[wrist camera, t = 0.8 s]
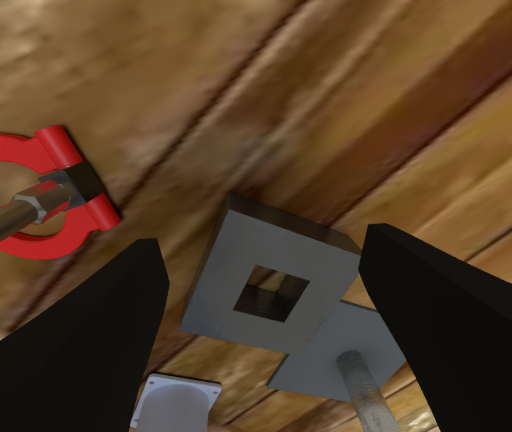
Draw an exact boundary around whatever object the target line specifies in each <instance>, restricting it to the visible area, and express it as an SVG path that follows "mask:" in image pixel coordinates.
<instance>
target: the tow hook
mask: <svg viewBox="0 0 512 432" xmlns="http://www.w3.org/2000/svg"><path fill="white" fill-rule="evenodd" d="M34 134H35V136H36V137H34V138H31V139H28V138H26V137H23V136H19V135H12V134H6V133H0V161H7V162H14V163H17V164H20V165H23V166H26V167H29V168H30V169H32V170H34V171H36V172H37V173H40V174H45V173H48V172H50V171H53V170H56V169H59V170H58V171H56V172H53V173H51V174H48V175H46V176H43V177H40V178H39V181H40V182H41V183H40V184H37V185H35V186H33V187H30V188H28V189H25V190H23V191H21V192H18V193H16V194H15V195H14V196H13V197H12V199H11V201H10V203H8V204H6V205H3V206H1V207H0V250H1V251H3V252H5V253H8V254H12V255H15V256H19V257H22V258H27V259H38V260H45V259H54V258H59V257H62V256H64V255H67V254H70V253H72V252H73V251H74V250H75V249H77V248H78V247H79V246H80V245H82V244H83V243H84V242H85V241H86V240H87V238H88V237H89V235H90V234H91V232H92V231H93V230H96V229H100V230H101V231H105V230H108V229H110V228H112V227H114V226H116V225H117V224H119V223H120V222H121V219H120V218H119V216H118V214H117V213H116V211H115V210H114V208H113V207H112V205H111V203H110V202H109V200H108V199H107V197H106V196H105V194H104V189H103V188H102V186H101V184H100V183H99V181H98V180H97V178H96V176H95V175H94V173H93V172H92V170H91V168H90V167H89V165H88V164H87V162H86V161H83V159H82V158H81V156H80V154H79V153H78V151H77V150H76V148H75V147H74V145H73V143H72V142H71V140H70V139H69V137H68V135H67V134H66V132H65V131H64V129H63V128H62V126H61V125H53V126H49V127H45V128H42V129H40V130H38V131H36V132H35V133H34ZM82 161H83V162H82ZM61 211H66V220H65V224H64V226H63V228H62V230H61V231H60V232H59V233H57V234H55V235H52V236H46V237H35V236H28V235H25V234H22V233H19V232H18V231H20V230H21V229H23V228H25V227H26V226H28V225H30V224H36V225H37V224H42V223H43V222H45V221H46V220H48V219H50V218H51V217H53V216H55V215H56V214H58V213H59V212H61Z"/></svg>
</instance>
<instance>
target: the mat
mask: <svg viewBox="0 0 512 432" xmlns="http://www.w3.org/2000/svg"><path fill="white" fill-rule="evenodd" d="M350 350H356V351H359V352H360V353H361V354H362V356H363V358H364V360H365V362H366V364H367V366H368V368H369V370H370V372H371V374H372V375H373V377H374V379H375V381H376V383H377V385H378V387H379V389H380V388H381V387H382V386H383V385H384V383H385V382H386V381H387V380H388V379H389V378H390V377H391V376H392V375H393V374H394V373H395V372H396V371H397V370H398V369H399V368H400V366H401V365H402V364H403V363H404V362H405V361H406V358H405V357H404V355H403V353H402V351H401V350H400V348H399V346H398V345H397V343H396V341H395V340H394V338H393V336H392V334H391V333H390V331H389V329H388V328H387V326H386V324H385V323H384V321H383V319H382V318H381V316H380V314H379V312H378V311H377V310H374V309H370V308H367V307H364V306H360V305H357V304H353V303H350V302H346V301H343V300H340V301H339V303H338V304H337V306H336V307H335V308H334V310H333V311H332V313H331V314H330V316H329V317H328V318H327V320H326V321H325V323H324V324H323V325H322V327H321V328H320V330H319V331H318V333H317V334H316V335H315V337H314V338H313V340H312V341H311V342H310V344H309V345H308V347H307V348H306V350H305V351H304V352H303V354H302V355H301V356H296V355H291V354H286V356H285V357H284V359H283V360H282V362H281V363H280V365H279V366H278V368H277V369H276V371H275V372H274V374H273V375H272V377H271V378H270V380H269V381H268V383H267V388H271V389H277V390H283V391H289V392H295V393H301V394H306V395H312V396H318V397H324V398H330V399H336V400H342V401H347V402H352V401H351V399H350V396H349V394H348V391H347V389H346V386H345V384H344V382H343V379H342V377H341V374H340V372H339V369H338V367H337V364H336V359H337V357H338V356H339V355H340V354H342V353H344V352H346V351H350Z"/></svg>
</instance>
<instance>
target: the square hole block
mask: <svg viewBox="0 0 512 432" xmlns="http://www.w3.org/2000/svg"><path fill="white" fill-rule="evenodd" d="M361 254H362V250H361V249H360V248H359V247H358V246H357V244H356V243H355V242H354V241H353V240H352V239H351V238H350V237H349V236H348V235H345V234H343V233H340V232H337V231H335V230H332V229H329V228H327V227H324V226H321V225H319V224H316V223H313V222H311V221H308V220H305V219H302V218H300V217H297V216H294V215H292V214H289V213H286V212H284V211H281V210H278V209H276V208H273V207H270V206H268V205H265V204H262V203H260V202H257V201H254V200H251V199H249V198H246V197H243V196H241V195H238V194H235V193H233V192H230V191H229V192H228V195H227V197H226V200H225V202H224V205H223V207H222V210H221V212H220V214H219V217H218V219H217V222H216V224H215V227H214V229H213V232H212V234H211V237H210V239H209V241H208V244H207V246H206V249H205V251H204V254H203V256H202V259H201V261H200V264H199V266H198V269H197V271H196V273H195V276H194V278H193V281H192V283H191V286H190V288H189V291H188V293H187V296H186V298H185V302H184V307H183V311H182V316H181V320H180V325H179V329H178V330H179V331H184V332H188V333H193V334H198V335H202V336H207V337H212V338H216V339H221V340H226V341H230V342H235V343H240V344H245V345H249V346H254V347H259V348H263V349H268V350H273V351H277V352H282V353H287V354H291V355H296V356H301V355H302V354H303V352H304V351H305V350H306V348H307V347H308V345H309V344H310V342H311V341H312V340H313V338H314V337H315V335H316V334H317V333H318V331H319V330H320V328H321V327H322V325H323V324H324V323H325V321H326V320H327V318H328V317H329V316H330V314H331V313H332V311H333V310H334V308H335V307H336V306H337V304H338V303H339V301H340V300H341V299H342V297H343V296H344V294H345V293H346V291H347V290H348V289H349V287H350V286H351V284H352V283H353V281H354V280H355V279H356V277H357V276H358V274H359V271H358V267H359V262H360V258H361ZM255 265H260V266H263V267H266V268H270V269H273V270H276V271H279V272H283V273H286V274H287V276H286V278H285V280H284V281H283V283H282V285H281V287H280V288H279V290H278V292H277V293H275V292H272V291H268V290H264V289H261V288H257V287H254V286H250V285H247V284H246V282H247V280H248V278H249V277H250V275H251V273H252V271H253V269H254V267H255Z"/></svg>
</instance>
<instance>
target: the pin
mask: <svg viewBox="0 0 512 432" xmlns="http://www.w3.org/2000/svg"><path fill="white" fill-rule="evenodd" d="M336 364H337V367H338V369H339V372H340V374H341V377H342V379H343V382H344V384H345V386H346V389H347V391H348V394H349V396H350V399H351V401H352V404H353V406H354V409H355V411H356V413H357V416H358V418H359V421H360V423H361V426H362V428H363V431H364V432H402V431H401V429H400V427H399V425H398V423H397V421H396V419H395V418H394V416H393V414H392V412H391V410H390V408H389V406H388V404H387V402H386V400H385V398H384V396H383V395H382V393H381V391H380V389H379V387H378V385H377V383H376V381H375V379H374V377H373V375H372V374H371V372H370V370H369V368H368V366H367V364H366V362H365V360H364V358H363V356H362V354H361V353H360V352H359V351H356V350H350V351H346V352H344V353H342V354H340V355H339V356H338V357H337V359H336Z"/></svg>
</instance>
